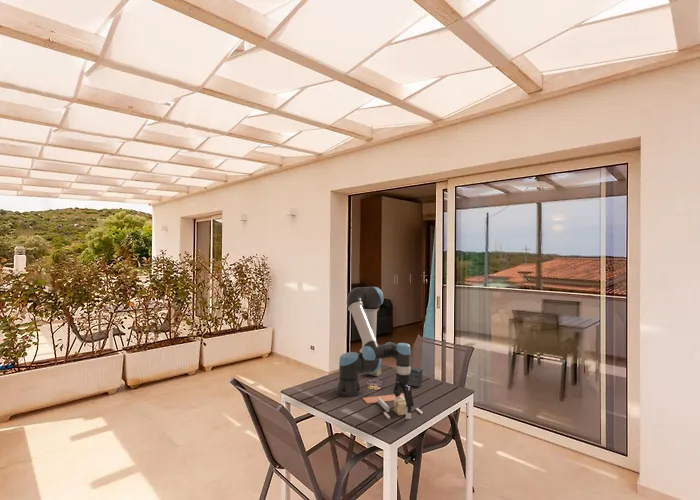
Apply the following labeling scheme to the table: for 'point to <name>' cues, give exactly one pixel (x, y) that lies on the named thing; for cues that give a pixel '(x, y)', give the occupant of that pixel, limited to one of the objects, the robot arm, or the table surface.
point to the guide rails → (385, 403)
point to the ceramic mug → (375, 373)
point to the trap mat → (384, 398)
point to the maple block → (400, 406)
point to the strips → (389, 416)
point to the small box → (415, 377)
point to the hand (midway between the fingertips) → (402, 413)
